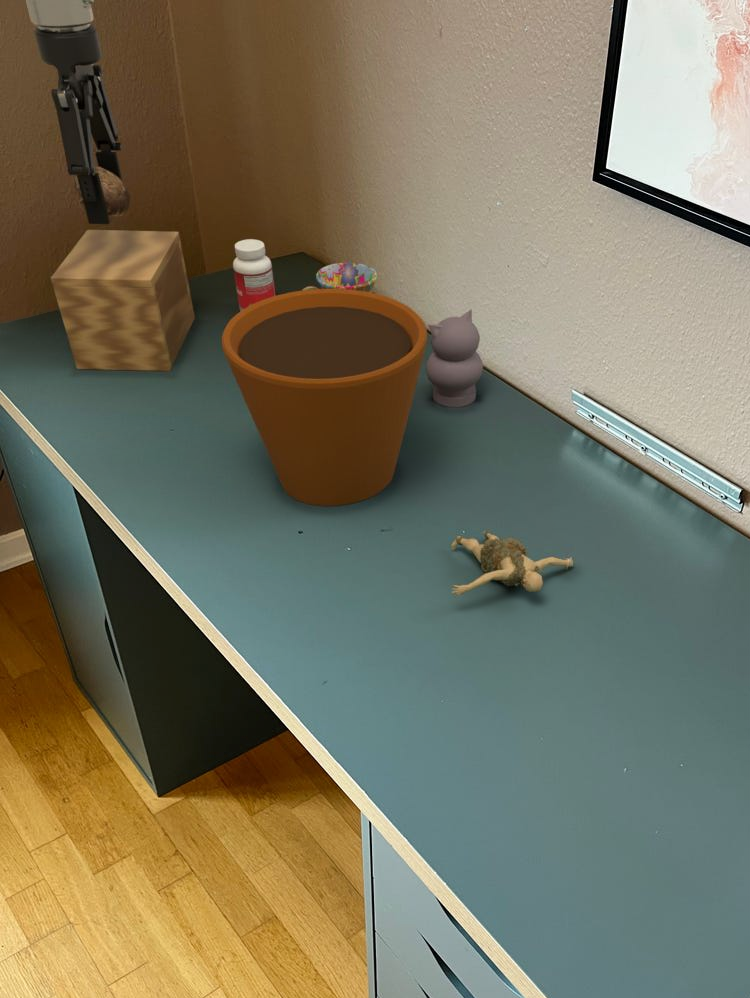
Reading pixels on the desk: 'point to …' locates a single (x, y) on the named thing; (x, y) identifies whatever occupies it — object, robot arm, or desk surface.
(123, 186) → the mushroom
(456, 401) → the cat figurine
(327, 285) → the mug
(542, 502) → the desk surface
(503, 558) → the figurine
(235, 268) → the pill bottle
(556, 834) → the desk surface
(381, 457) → the flower pot
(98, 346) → the wood grain cube
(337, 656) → the desk surface
